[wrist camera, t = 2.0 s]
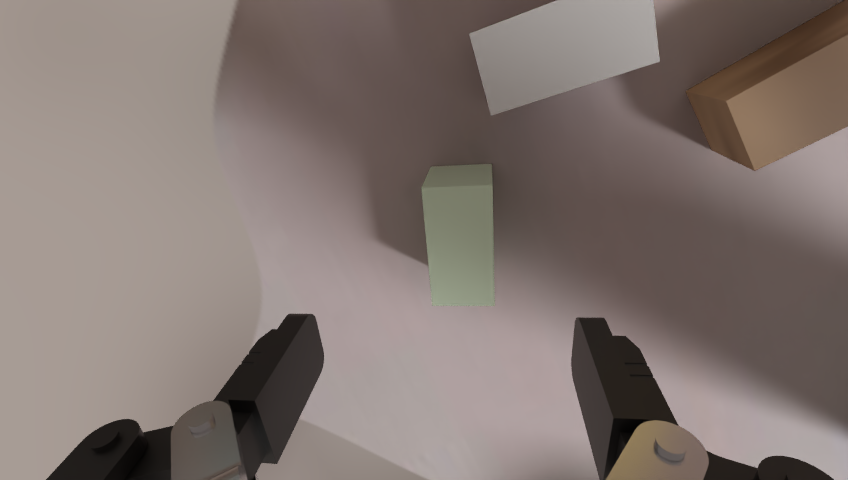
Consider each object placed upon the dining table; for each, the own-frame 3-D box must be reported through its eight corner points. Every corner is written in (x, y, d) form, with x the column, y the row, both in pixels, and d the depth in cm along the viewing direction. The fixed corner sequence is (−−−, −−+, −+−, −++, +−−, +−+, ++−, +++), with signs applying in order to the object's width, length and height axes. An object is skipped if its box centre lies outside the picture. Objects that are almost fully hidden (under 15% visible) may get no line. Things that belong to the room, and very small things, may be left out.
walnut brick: (848, -4, 16) (938, -15, 12) (868, 67, 16) (958, 73, 13) (684, 90, 18) (725, 101, 15) (710, 149, 19) (754, 170, 15)
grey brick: (618, -21, 16) (649, -35, 13) (629, 57, 17) (659, 61, 14) (472, 34, 18) (469, 33, 15) (490, 103, 19) (490, 115, 16)
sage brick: (431, 165, 21) (421, 187, 18) (491, 162, 20) (492, 184, 17) (439, 270, 23) (432, 305, 20) (493, 269, 23) (494, 306, 20)
